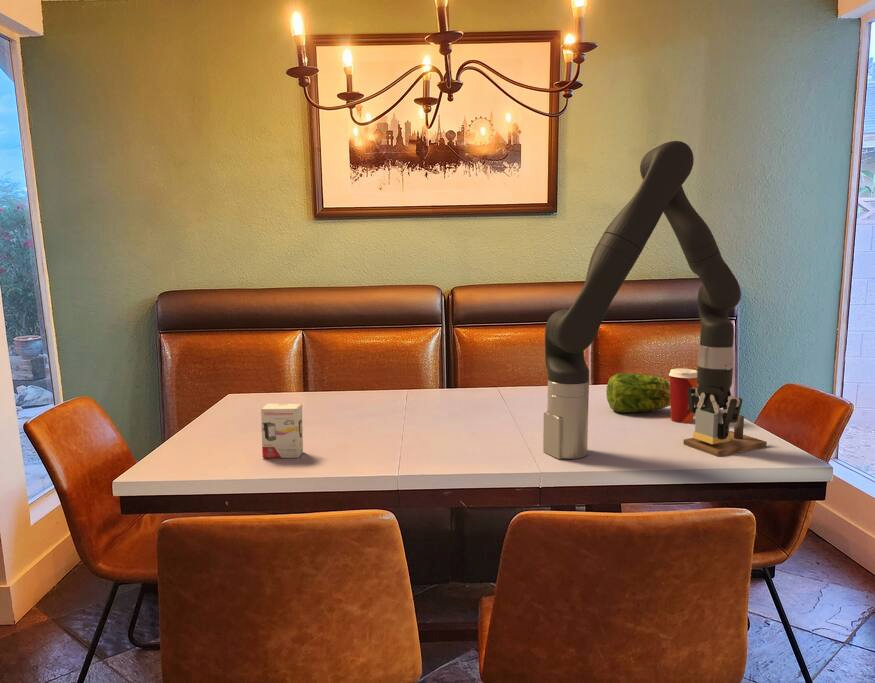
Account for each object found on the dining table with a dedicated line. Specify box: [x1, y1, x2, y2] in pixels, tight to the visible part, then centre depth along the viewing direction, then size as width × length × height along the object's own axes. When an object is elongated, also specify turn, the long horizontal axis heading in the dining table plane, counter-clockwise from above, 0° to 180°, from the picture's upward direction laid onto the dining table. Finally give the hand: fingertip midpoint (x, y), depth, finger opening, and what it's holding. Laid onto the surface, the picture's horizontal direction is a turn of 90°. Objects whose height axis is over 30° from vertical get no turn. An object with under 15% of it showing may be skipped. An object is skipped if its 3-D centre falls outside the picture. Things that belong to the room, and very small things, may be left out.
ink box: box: [260, 403, 304, 459], centre depth 141 cm, size 9×5×12 cm, turn 89°
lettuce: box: [605, 372, 671, 414], centre depth 176 cm, size 12×21×11 cm, turn 88°
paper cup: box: [668, 368, 698, 424], centre depth 166 cm, size 8×8×14 cm
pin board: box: [682, 414, 768, 457], centre depth 145 cm, size 16×10×7 cm, turn 114°
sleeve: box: [692, 408, 731, 444], centre depth 142 cm, size 6×6×7 cm
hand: (711, 435), depth 143 cm, fingers closed on sleeve, 5 cm apart
